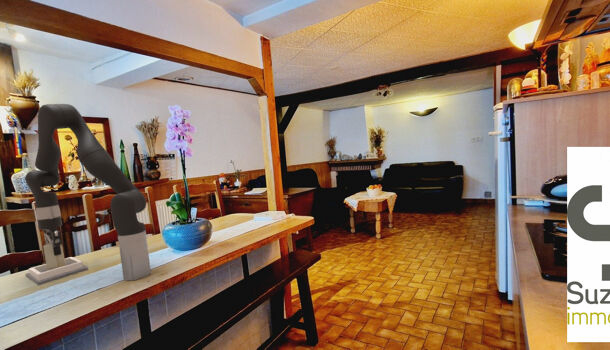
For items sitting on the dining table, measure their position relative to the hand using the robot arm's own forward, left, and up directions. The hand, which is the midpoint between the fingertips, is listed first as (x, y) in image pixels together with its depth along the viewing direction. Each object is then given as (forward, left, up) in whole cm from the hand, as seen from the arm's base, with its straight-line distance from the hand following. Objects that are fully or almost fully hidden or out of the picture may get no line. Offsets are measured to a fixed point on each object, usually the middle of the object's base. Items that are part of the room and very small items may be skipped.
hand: (54, 253), depth 119 cm
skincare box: (0, 0, -8) cm, 8 cm away
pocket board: (0, 0, -8) cm, 8 cm away
